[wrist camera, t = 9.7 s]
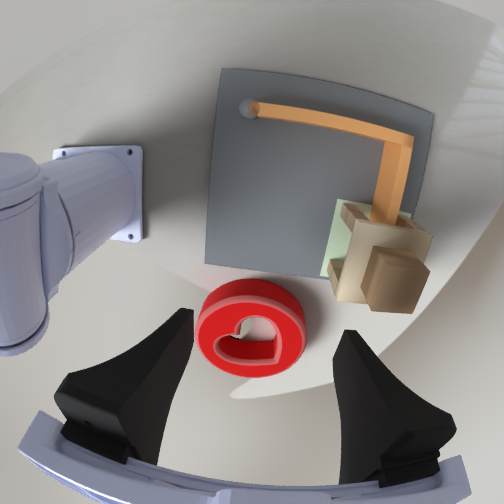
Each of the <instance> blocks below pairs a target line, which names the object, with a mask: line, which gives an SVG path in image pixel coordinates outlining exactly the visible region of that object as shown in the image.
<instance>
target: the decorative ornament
mask: <svg viewBox="0 0 504 504" xmlns="http://www.w3.org/2000/svg"><path fill="white" fill-rule="evenodd" d="M250 317H261V318H265V319H267V320H269V321H270V322H271V323H272V324H273V326H274V328H275V331H276V335H275V339H274V340H271V341H255V342H251V341H241V340H239V339H240V338H236V337H233V336H231V335H239V334H240V329H241V323H242V322H243V321H244V320H245V319H247V318H250ZM195 339H196V343H197V346H198V348H199V350H200V352H201V353H202V355H203V356H204V357H205V358H206V359H207V360H208V361H209V362H210V363H211V364H212V365H213V366H215V367H217V368H218V369H220V370H222V371H224V372H227V373H230V374H232V375H236V376H240V377H247V378H261V377H267V376H272V375H275V374H278V373H281V372H283V371H285V370H287V369H288V368H290V367H291V366H292V365H293V364H295V363H296V362H297V361H298V359H299V358H300V357H301V355H302V353H303V351H304V349H305V346H306V341H307V335H306V328H305V320H304V314H303V310H302V307H301V305H300V303H299V302H298V301H297V299H296V298H295V297H294V296H293V295H292V294H291V293H289V292H288V291H287V290H285V289H284V288H282V287H281V286H279V285H276V284H274V283H271V282H268V281H264V280H259V279H239V280H235V281H231V282H229V283H226V284H224V285H222V286H220V287H219V288H217V289H216V290H214V291H213V292H211V293H210V294H209V295H208V297H207V298H206V300H205V302H204V304H203V307H202V310H201V312H200V315H199V318H198V321H197V324H196V328H195Z"/></svg>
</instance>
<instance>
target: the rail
mask: <svg viewBox="0 0 504 504" xmlns="http://www.w3.org/2000/svg"><path fill="white" fill-rule="evenodd" d="M239 110H240V113H241V114H242V115H243V116H245V117H247V118H249V119H257V118H259V117H260V118H268V119H276V120H283V121H289V122H296V123H302V124H308V125H313V126H319V127H324V128H329V129H334V130H338V131H343V132H347V133H352V134H356V135H360V136H364V137H368V138H372V139H376V140H379V141H383V142H385V143H384V149H383V155H382V160H381V165H380V170H379V175H378V180H377V185H376V190H375V194H374V199H373V203H372V209H371V213H370V217H369V220H370V221H374V222H380V223H385V224H390V225H395V224H396V220H397V216H398V212H399V209H400V205H401V201H402V196H403V192H404V188H405V183H406V179H407V174H408V169H409V164H410V159H411V154H412V148H413V142H414V136H411V135H408V134H405V133H402V132H398V131H395V130H392V129H389V128H385V127H382V126H378V125H375V124H371V123H367V122H363V121H360V120H356V119H351V118H347V117H343V116H338V115H334V114H329V113H324V112H319V111H314V110H308V109H303V108H297V107H290V106H284V105H276V104H269V103H260V102H257V101H256V100H255V99H252V98H247V99H245V100H243V101H242V102H241V103H240V106H239Z"/></svg>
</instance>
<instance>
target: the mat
mask: <svg viewBox="0 0 504 504" xmlns="http://www.w3.org/2000/svg"><path fill="white" fill-rule="evenodd" d="M247 98H252V99H255V100H256V101H257V102H260V103H269V104H276V105H284V106H290V107H297V108H303V109H308V110H314V111H319V112H324V113H329V114H334V115H338V116H343V117H347V118H351V119H356V120H360V121H363V122H367V123H371V124H375V125H378V126H382V127H385V128H389V129H392V130H395V131H398V132H402V133H405V134H408V135H411V136H414V142H413V148H412V154H411V159H410V164H409V169H408V174H407V179H406V183H405V188H404V192H403V196H402V201H401V205H400V209H399V211H402V212H406V213H411V217H410V219H411V220H412V219H413V216H414V212H415V208H416V204H417V200H418V196H419V192H420V188H421V184H422V179H423V174H424V170H425V165H426V159H427V154H428V148H429V143H430V136H431V130H432V122H433V114H431V113H429V112H426V111H424V110H421V109H419V108H416V107H413V106H411V105H408V104H405V103H402V102H399V101H396V100H393V99H390V98H387V97H384V96H381V95H378V94H374V93H371V92H367V91H364V90H360V89H356V88H352V87H348V86H344V85H340V84H336V83H331V82H327V81H322V80H317V79H311V78H306V77H300V76H294V75H287V74H280V73H272V72H264V71H254V70H242V69H225V68H221V76H220V84H219V92H218V100H217V109H216V118H215V127H214V137H213V147H212V158H211V169H210V182H209V195H208V209H207V225H206V243H205V264H211V265H218V266H226V267H233V268H240V269H248V270H255V271H263V272H271V273H279V274H287V275H294V276H303V277H311V278H319V279H327V280H330V279H329V277H325V276H320V273H321V269H322V265H323V261H324V257H325V253H326V248H327V244H328V240H329V236H330V231H331V227H332V222H333V218H334V213H335V208H336V203H337V199H343V200H348V201H354V202H359V203H364V204H369V205H372V203H373V199H374V194H375V190H376V185H377V180H378V175H379V170H380V165H381V160H382V155H383V149H384V143H385V142H383V141H379V140H376V139H372V138H368V137H364V136H360V135H356V134H352V133H347V132H343V131H338V130H334V129H329V128H324V127H319V126H313V125H308V124H302V123H296V122H289V121H283V120H276V119H268V118H260V117H259V118H257V119H249V118H247V117H245V116H243V115H242V114H241V113H240V110H239V106H240V103H241V102H242V101H243V100H245V99H247Z"/></svg>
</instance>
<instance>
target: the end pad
mask: <svg viewBox="0 0 504 504" xmlns="http://www.w3.org/2000/svg"><path fill="white" fill-rule="evenodd" d="M342 203H345V204H350V205H355V206H356V207H357V208H358V209H359V210H360V211H361V212H362V213H363V214H364V215H365V216H366V217H367V218H368V219H369V217H370V213H371V209H372V205H369V204H364V203H359V202H354V201H348V200H343V199H337V203H336V208H335V213H334V218H333V222H332V227H331V231H330V236H329V240H328V244H327V248H326V253H325V257H324V261H323V265H322V269H321V273H320V276H325V277H329V276H328V273H327V267H328V263H329V259H330V260H337V261H342V264H343V265H344V261H345V258H346V254H347V251H348V247H349V243H350V239H351V235H352V232H351V231H350V230H349V228H348V227H347V225H346V224H345V223H344V221H343V220H342V218H341V217H340V213H341V208H342ZM398 214H400V215H405V216H407V217H409V218H410V217H411V213H406V212H402V211H399V212H398Z"/></svg>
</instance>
